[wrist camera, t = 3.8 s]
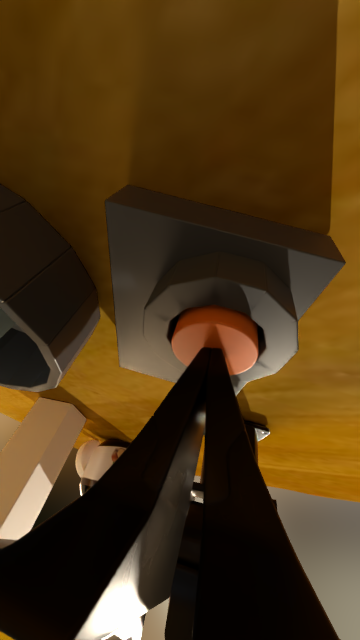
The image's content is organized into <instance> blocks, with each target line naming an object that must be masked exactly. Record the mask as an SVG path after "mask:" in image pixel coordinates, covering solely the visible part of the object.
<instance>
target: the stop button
mask: <svg viewBox="0 0 360 640" xmlns="http://www.w3.org/2000/svg"><path fill="white" fill-rule="evenodd" d="M171 345H172V350H173V352H174V354H175V356H176V357H177V358H178V359H179V360H180V361H181V362H182V363H183V364H184V365H186V366H189V364H190V363H191V361H192V360H193V359H194V357H195V356H196V354H197V353H198V352H199V350H200V349H201V348H202V347H210V348H211V349H212V348H221V349H222V351H223V354H224V357H225V361H226V364H227V367H228V371H229V374H230V375H235V374H239V373H242V372H244V371H246V370H248V369H249V368H251V367H252V366H253V365H254V363H255V362H256V360H257V358H258V326H257V323H256V322H255V321H254V320H252V319H251V318H250V317H249V316H248V315H247V314H246V313H243V312H240V311H236V310H232V309H229V308H225V307H221V306H218V305H208V306H201V307H193V308H186V309H185V310H184V311H182V312H181V313H180V316H179V319H178V322H177V325H176V328H175V331H174V334H173V337H172V341H171Z"/></svg>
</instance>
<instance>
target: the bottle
mask: <svg viewBox="0 0 360 640" xmlns="http://www.w3.org/2000/svg"><path fill="white" fill-rule="evenodd" d="M15 324H16V323H15V322H14V321H13V320H12V319H11V318H10V317H9V316H8V315H7V314H6V313H5V312H4V311H3V310H2V309H1V308H0V338H1V337H2V336H3V335H4V334H5V333H6V332H7V331H8V330H9V329H10V328H11V327H13V326H14V325H15Z"/></svg>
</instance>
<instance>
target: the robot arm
mask: <svg viewBox="0 0 360 640" xmlns="http://www.w3.org/2000/svg"><path fill="white" fill-rule="evenodd" d="M269 434H270V429H269V428H267V427H263V426H260V425H256V424H253V423H249V422H246V421H243V418H242V414H241V411H240V408H239V404H238V401H237V397H236V394H235V391H234V387H233V384H232V381H231V377H230V374H229V371H228V367H227V364H226V361H225V357H224V354H223V351H222V349H221V348H212V349H211V348H210V347H202V348H201V349H200V350H199V352H198V353H197V354H196V356H195V357H194V359H193V360H192V361H191V363H190V364H189V366H188V367H187V368H186V370H185V371H184V372H183V374H182V375H181V377H180V378H179V379H178V381H177V382H176V384H175V385H174V386H173V388H172V389H171V390H170V392H169V393H168V395H167V396H166V397H165V399H164V400H163V402H162V403H161V404H160V406H159V407H158V408H157V410H156V411H155V413H154V416H152V417H151V418H150V419H149V421H148V422H147V424H146V425H145V426H144V428H143V429H142V430H141V432H140V433H139V434H138V435H137V437H136V438H135V439H134V440H133V441H132V443H131V444H130V445H129V446H128V447H127V448H126V450H125V451H124V452H123V453H122V454H121V455H120V456H119V458H118V459H117V460H116V461H115V462H114V463H113V464H112V465H111V467H110V468H109V469H108V470H107V471H106V472H105V473H104V474H103V476H102V477H101V478H100V479H99V480H98V481H97V482H96V483H95V484H94V485H93V486H92V487H91V488H90V489H89V490H88V491H87V492H85V493H84V494H83V495H82V496H80V497H79V498H77V499H76V500H75V501H73V502H72V503H70V504H69V505H68V506H66V507H64V508H63V509H62V510H60V511H59V512H57V513H56V514H54V515H53V516H52V517H50V518H49V519H47V520H46V521H44V522H43V523H41V524H40V525H39V526H37V527H36V528H34V529H33V530H31V531H30V532H28V533H27V534H25V535H24V536H22V537H21V538H20V539H18V540H11V539H0V640H140V639H141V634H142V629H143V625H144V620H145V615H146V612H147V611H149V610H150V609H152V608H154V607H155V606H157V605H158V604H160V603H162V602H163V601H165V600H166V599H168V598H169V604H168V613H167V621H166V627H165V640H341V639H339V638H338V636H337V634H336V632H335V630H334V628H333V626H332V624H331V622H330V620H329V618H328V616H327V614H326V612H325V610H324V608H323V607H322V605H321V603H320V601H319V599H318V597H317V595H316V593H315V591H314V589H313V587H312V585H311V583H310V581H309V579H308V578H307V576H306V574H305V572H304V570H303V568H302V566H301V563H300V561H299V560H298V557H297V555H296V553H295V551H294V549H293V547H292V545H291V543H290V540H289V538H288V536H287V533H286V531H285V529H284V527H283V524H282V522H281V520H280V517H279V515H278V512H277V503H276V500H273V499H272V498H271V496H270V494H269V491H268V489H267V486H266V484H265V482H264V479H263V477H262V474H261V472H260V469H259V467H258V441H260V440H261V439H263V438H264V437H266V436H268V435H269ZM203 435H205V448H204V456H203V464H202V471H201V479H200V483H197V482H193V480H194V476H195V471H196V467H197V462H198V457H199V452H200V447H201V442H202V438H203ZM195 497H199V498H203V503H199V502H196V501H194V500H195Z"/></svg>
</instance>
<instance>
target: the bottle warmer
mask: <svg viewBox="0 0 360 640" xmlns="http://www.w3.org/2000/svg"><path fill="white" fill-rule="evenodd" d="M70 247H71V246H70V245H69V244H68V243H67V242H66V241H65V240H64V239H63V238H62V237H61V236H60V235H59V234H58V233H57V232H56V231H55V230H54V229H53V227H52V226H51V225H50V224H49V223H48V222H47V221H46V220H45V219H44V218H43V217H42V216H41V215H40V214H39V213H38V212H37V211H36V210H35V209H34V208H33V207H32V206H31V205H30V204H29V203H28V202H25V200H24V199H23V198H21V197H20V196H18V195H16V194H15V193H13V192H12V191H10V190H9V189H7V188H5V187H4V186H2V185H1V184H0V308H1V309H2V310H3V311H4V312H5V313H6V314H7V315H8V316H9V317H10V318H11V319H12V320H13V321H14V322H15V323H16V324H15V325H14V326H13V327H11V328H10V329H9V330H8V331H7V332H6V333H5V334H4V335H3V336H2V337H1V338H0V386H3V387H7V388H11V389H17V390H25V391H33V392H40V391H44V390H48V389H52V388H56V387H57V386H58V384H59V383H60V381H61V380H62V378H63V377H64V375H65V374H66V372H67V371H68V369H69V368H70V366H71V365H72V363H73V362H74V360H75V359H76V357H77V356H78V354H79V353H80V351H81V350H82V348H83V347H84V345H85V344H86V342H87V341H88V339H89V338H90V336H91V335H92V333H93V331H94V329H95V327H96V325H97V323H98V321H99V319H100V311H99V305H98V299H97V293H96V288H95V286H94V284H93V282H92V281H91V279H90V277H89V276H88V274H87V272H86V270H85V269H84V267H83V265H82V264H81V262H80V260H79V259H78V257H77V255H76V253H75V252H74V250H73V248H70Z"/></svg>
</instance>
